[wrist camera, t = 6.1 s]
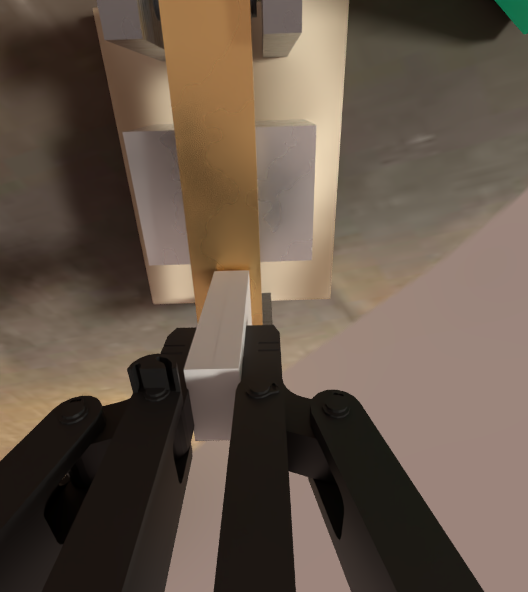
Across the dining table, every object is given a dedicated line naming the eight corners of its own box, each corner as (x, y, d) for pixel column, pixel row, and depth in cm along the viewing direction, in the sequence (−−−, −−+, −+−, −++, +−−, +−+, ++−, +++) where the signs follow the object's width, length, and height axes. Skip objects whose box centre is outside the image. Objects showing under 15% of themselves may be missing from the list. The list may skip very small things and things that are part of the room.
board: (157, 295, 26) (153, 304, 25) (102, 13, 18) (92, 7, 17) (327, 290, 26) (330, 298, 24) (343, 3, 18) (349, -2, 17)
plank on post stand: (182, 303, 25) (151, 385, 18) (134, 0, 17) (43, -70, 10) (300, 299, 25) (316, 380, 17) (306, -6, 17) (338, -82, 10)
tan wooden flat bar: (201, 346, 18) (197, 358, 18) (157, -11, 13) (149, -22, 12) (267, 345, 18) (267, 355, 18) (255, -15, 12) (255, -26, 12)
